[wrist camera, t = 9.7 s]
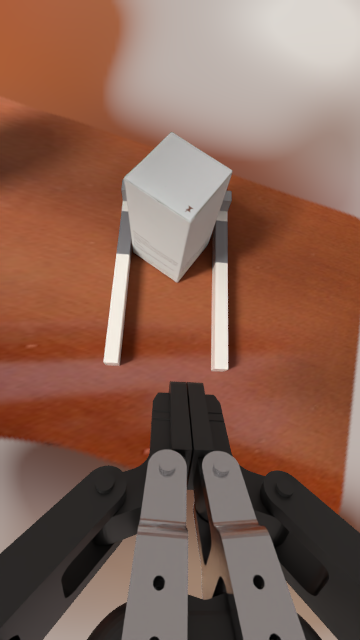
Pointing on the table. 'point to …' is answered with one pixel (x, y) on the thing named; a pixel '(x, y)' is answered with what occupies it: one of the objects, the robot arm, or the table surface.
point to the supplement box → (174, 204)
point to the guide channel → (218, 289)
